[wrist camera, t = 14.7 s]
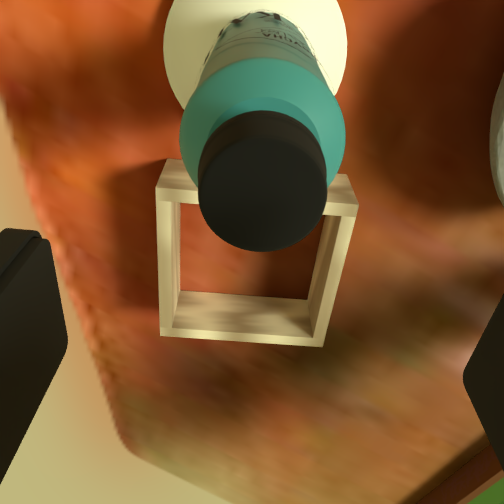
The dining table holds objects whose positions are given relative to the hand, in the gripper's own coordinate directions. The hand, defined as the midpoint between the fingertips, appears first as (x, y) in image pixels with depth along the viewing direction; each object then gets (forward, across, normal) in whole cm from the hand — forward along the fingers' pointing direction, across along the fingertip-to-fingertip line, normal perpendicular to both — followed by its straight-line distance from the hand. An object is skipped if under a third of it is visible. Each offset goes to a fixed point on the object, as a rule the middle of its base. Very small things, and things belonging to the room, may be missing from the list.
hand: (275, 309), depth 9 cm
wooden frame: (+26, 0, +15) cm, 29 cm away
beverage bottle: (+25, 0, 0) cm, 25 cm away
